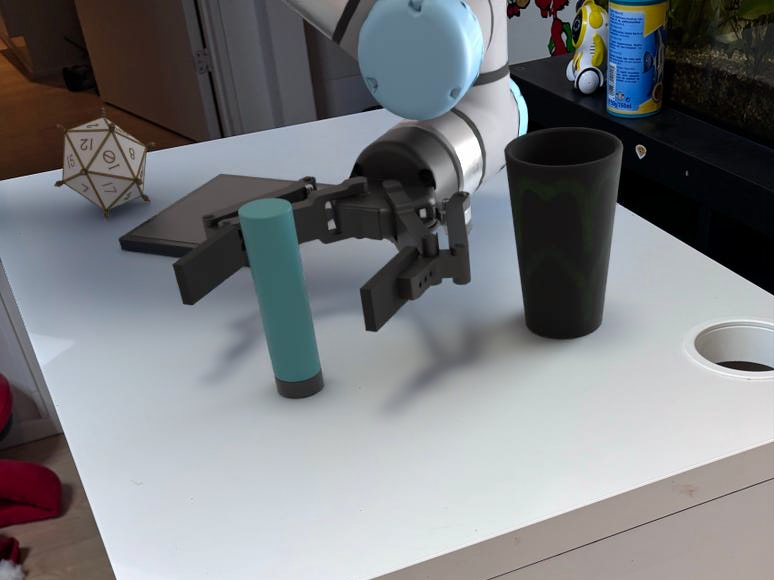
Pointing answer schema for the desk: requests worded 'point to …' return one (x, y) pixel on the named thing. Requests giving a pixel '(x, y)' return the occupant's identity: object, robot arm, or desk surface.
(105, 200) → the game die
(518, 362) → the desk surface
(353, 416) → the desk surface
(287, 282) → the teal cylinder
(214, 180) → the plate
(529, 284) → the cup
